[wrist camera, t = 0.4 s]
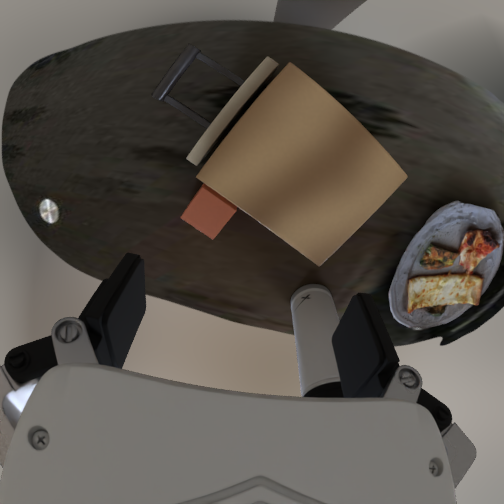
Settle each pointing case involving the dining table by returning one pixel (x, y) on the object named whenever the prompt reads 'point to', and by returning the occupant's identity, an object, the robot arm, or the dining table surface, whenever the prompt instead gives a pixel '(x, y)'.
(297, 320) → the travel mug
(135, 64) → the dining table surface
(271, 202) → the cabinet
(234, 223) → the dining table surface
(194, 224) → the block
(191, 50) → the drawer
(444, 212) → the food plate
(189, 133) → the dining table surface
